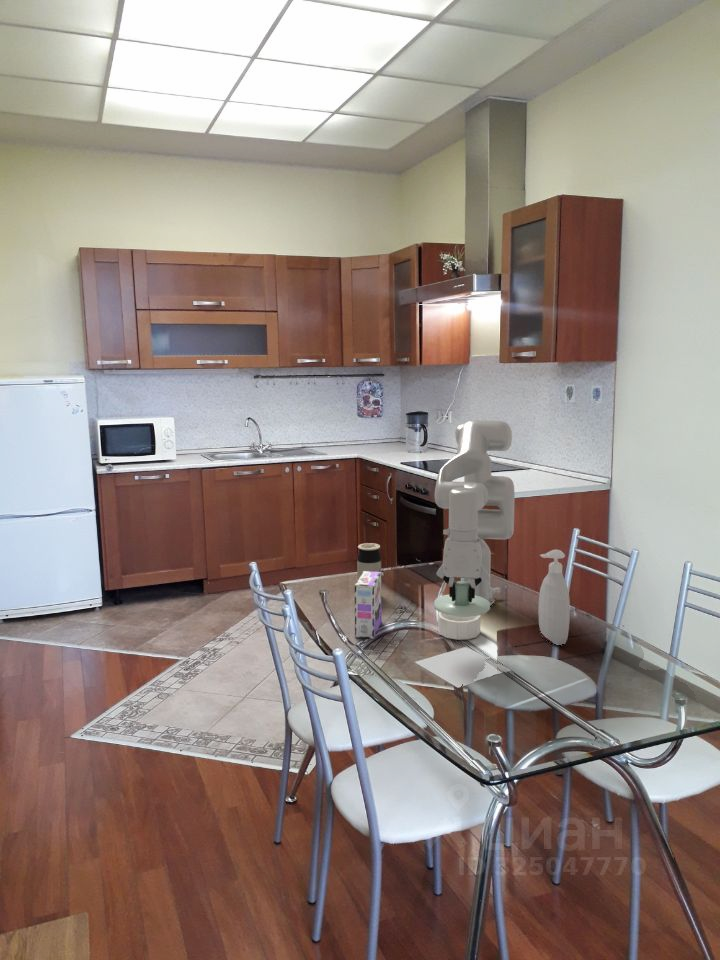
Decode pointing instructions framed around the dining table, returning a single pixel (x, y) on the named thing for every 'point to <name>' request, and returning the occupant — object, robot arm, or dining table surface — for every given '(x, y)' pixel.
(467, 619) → the bowl
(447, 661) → the mat
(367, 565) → the travel mug
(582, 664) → the dining table surface
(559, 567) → the soap bottle
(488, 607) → the lid
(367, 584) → the candy box
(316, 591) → the dining table surface
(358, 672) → the dining table surface
